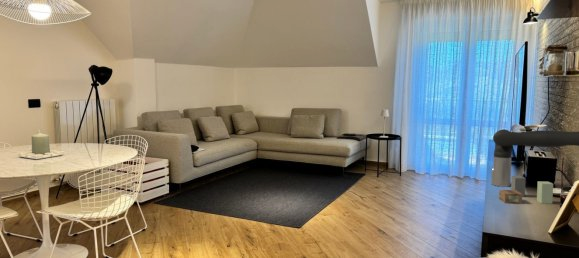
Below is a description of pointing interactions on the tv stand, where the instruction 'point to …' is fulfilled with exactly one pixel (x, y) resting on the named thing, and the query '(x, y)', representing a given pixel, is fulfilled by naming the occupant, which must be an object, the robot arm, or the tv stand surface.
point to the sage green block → (545, 192)
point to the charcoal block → (518, 184)
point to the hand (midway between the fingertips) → (566, 190)
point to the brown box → (510, 196)
